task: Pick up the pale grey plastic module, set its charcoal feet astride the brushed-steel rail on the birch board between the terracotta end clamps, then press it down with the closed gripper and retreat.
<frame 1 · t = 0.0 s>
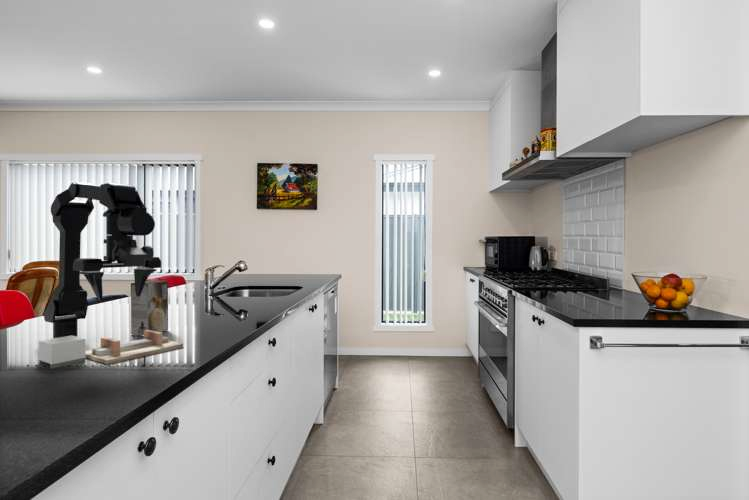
hand: (119, 298, 109), 15 cm above the countertop, tool pointing down, fingers open, 9 cm apart
rail board: (132, 351, 116), on the countertop
module: (62, 362, 104), on the countertop
coffee box: (150, 333, 137), on the countertop
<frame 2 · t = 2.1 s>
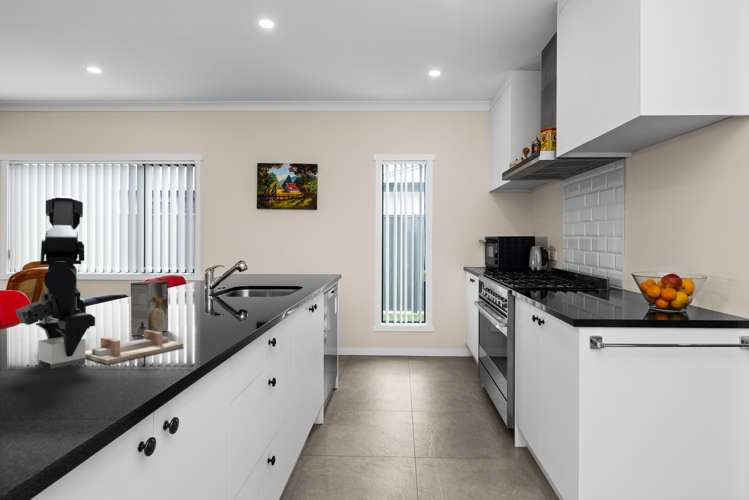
hand: (62, 354, 104), 2 cm above the countertop, tool pointing down, fingers closed on module, 7 cm apart
module: (62, 362, 104), on the countertop, touching gripper
everything else where it was.
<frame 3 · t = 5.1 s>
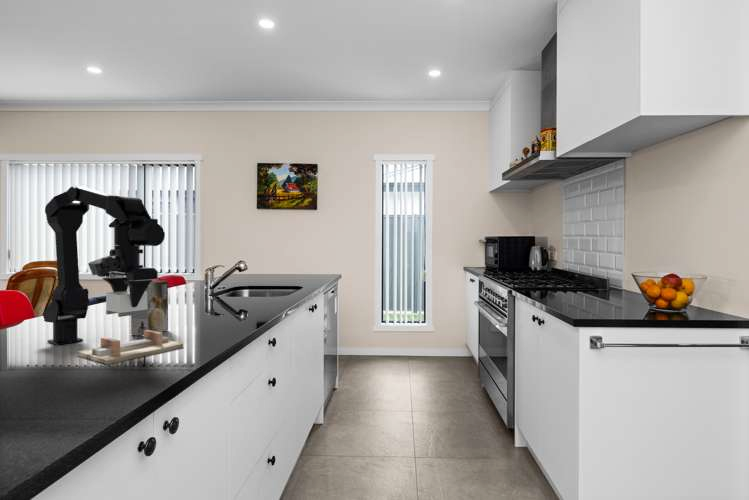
hand: (127, 305, 114), 12 cm above the countertop, tool pointing down, fingers closed on module, 7 cm apart
module: (126, 313, 114), point 10 cm above the countertop, touching gripper
everything else where it was.
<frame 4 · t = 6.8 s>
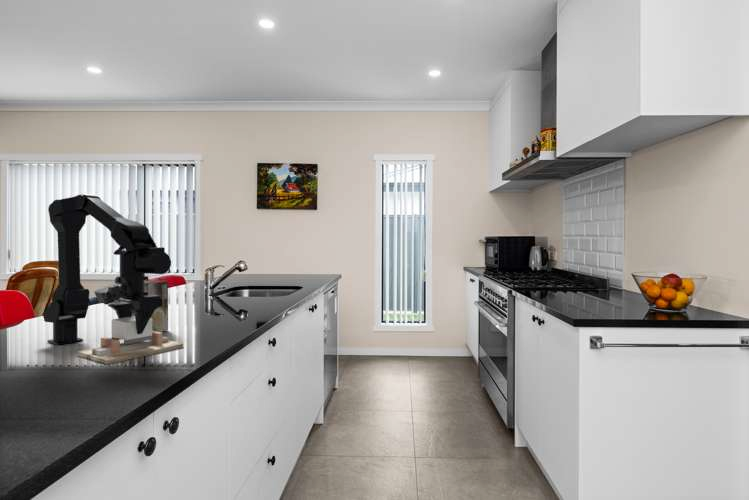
hand: (132, 332, 115), 5 cm above the countertop, tool pointing down, fingers closed on module, 7 cm apart
module: (132, 339, 115), point 3 cm above the countertop, touching gripper
everything else where it was.
when the fingers open (4 cm above the countertop, at t = 8.1 s): module stays where it is, resting on rail board.
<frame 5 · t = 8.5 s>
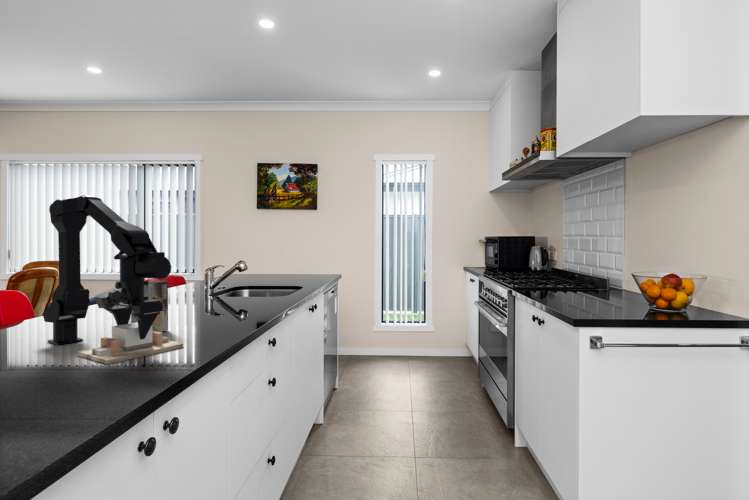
hand: (132, 336, 115), 4 cm above the countertop, tool pointing down, fingers open, 9 cm apart
module: (132, 346, 115), point 1 cm above the countertop, touching rail board
everything else where it was.
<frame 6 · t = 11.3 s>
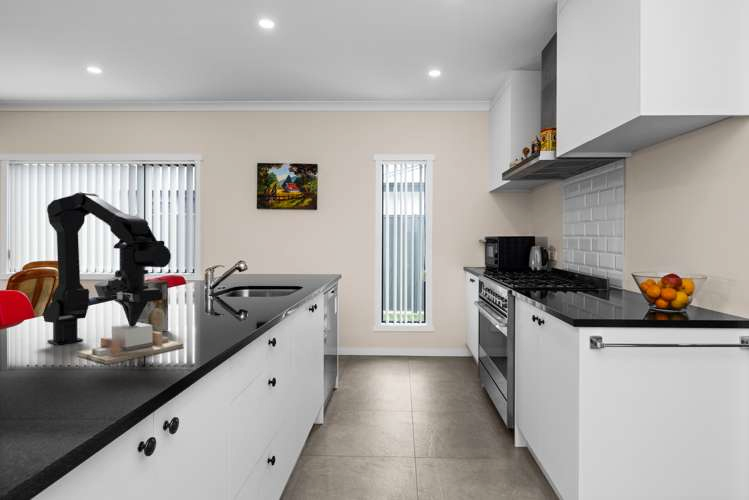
hand: (132, 325, 115), 7 cm above the countertop, tool pointing down, fingers closed, pressing on module
module: (132, 346, 115), point 1 cm above the countertop, touching gripper, rail board
everything else where it was.
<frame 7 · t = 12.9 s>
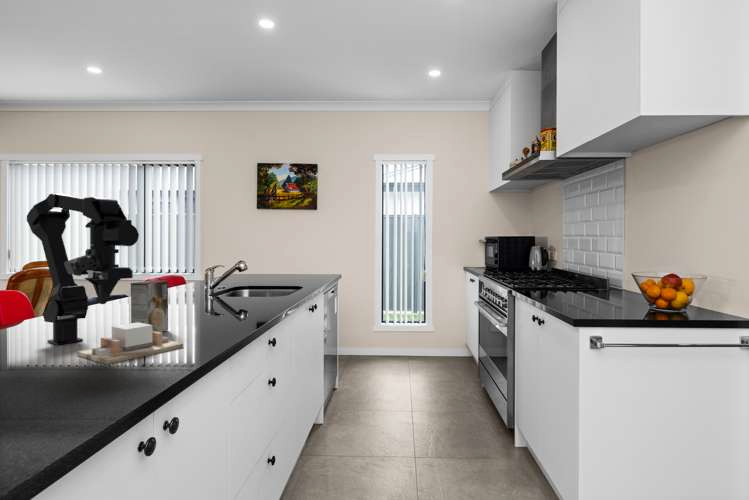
hand: (102, 304, 117), 12 cm above the countertop, tool pointing down, fingers closed
module: (132, 346, 115), point 1 cm above the countertop, touching rail board
everything else where it was.
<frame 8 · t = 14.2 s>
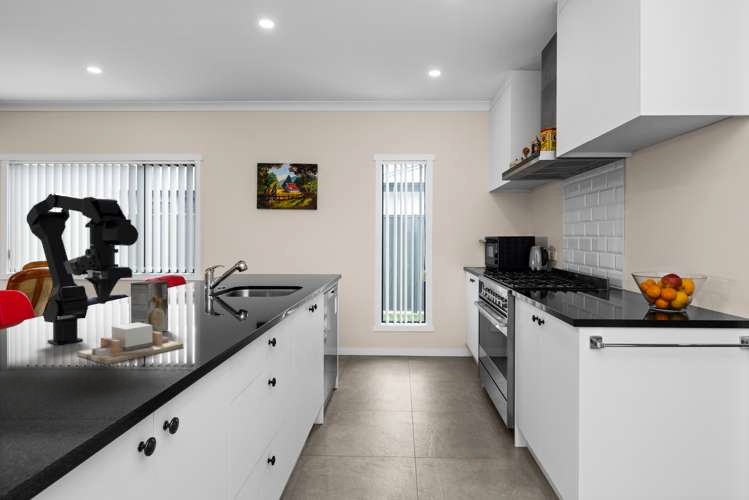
hand: (102, 303, 117), 12 cm above the countertop, tool pointing down, fingers closed
nothing on the countertop moved.
at the end: module 0.0 cm off-centre on the rail board, point 1.2 cm above the rail board's base; module tilted 0°; the gripper is holding nothing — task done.
